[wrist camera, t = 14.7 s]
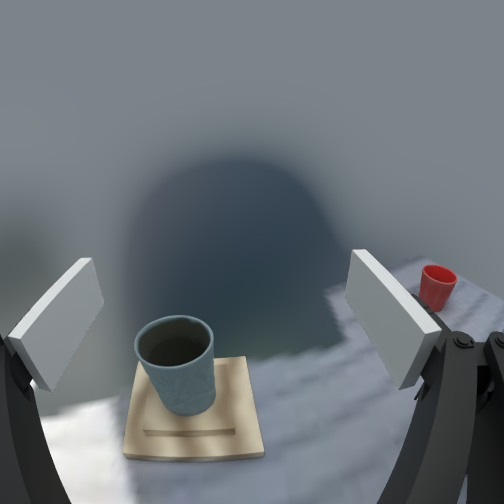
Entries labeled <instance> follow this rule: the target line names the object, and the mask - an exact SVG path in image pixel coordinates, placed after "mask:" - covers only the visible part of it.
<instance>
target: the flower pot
mask: <svg viewBox="0 0 504 504" xmlns="http://www.w3.org/2000/svg"><path fill="white" fill-rule="evenodd" d="M456 282H457V277H456V275H455V274H454V273H453V272H452V271H451V270H449V269H447V268H445V267H442V266H438V265H426V266H424V267H423V270H422V278H421V285H420V293H419V298H421V299H422V300H423V301H424V302H425V303H426V304H427V305H428V306H429V308H431V309H432V310H433V311H434V312H438V311H440V310H441V309H442V308H443V306H444V304H445V303H446V301H447V299H448V298H449V296H450V294H451V292H452V290H453V288H454V286H455V284H456Z"/></svg>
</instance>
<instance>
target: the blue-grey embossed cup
mask: <svg viewBox="0 0 504 504" xmlns="http://www.w3.org/2000/svg"><path fill="white" fill-rule="evenodd" d="M134 349H135V353H136V355H137V357H138V359H139V361H140V362H141V364H142V366H143V368H144V370H145V372H146V374H147V375H148V376H149V379H150V381H151V383H152V384H153V386H154V388H155V390H156V392H158V395H159V397H160V399H161V401H162V402H163V404H164V405H165V407H166V408H167V409H168V410H170V411H171V412H173V413H174V414H177V415H181V416H194V415H198V414H201V413H203V412H205V411H206V410H207V409H209V408H210V407H211V405H213V402H214V400H215V397H216V387H215V377H214V376H215V374H214V356H213V355H214V353H213V352H214V351H213V350H214V349H213V333H212V331H211V329H210V327H209V326H207V324H206V323H205V322H203V321H201V320H200V319H197V318H194V317H190V316H184V315H175V316H168V317H163V318H161V319H158V320H156V321H153V322H151V323H149V324H148V325H146V326H145V327H144V328H143V329H142V330H141V331H140V332H139V333H138V335H137V336H136V339H135V344H134Z"/></svg>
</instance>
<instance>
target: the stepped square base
mask: <svg viewBox="0 0 504 504" xmlns="http://www.w3.org/2000/svg"><path fill="white" fill-rule="evenodd" d="M214 374H215V376H214V377H215V387H216V397H215V400H214V402H213V405H211V407H210V408H209V409H207V410H206V411H205V412H203V413H201V414H198V415H194V416H181V415H177V414H174V413H173V412H171V411H170V410H168V409H167V408H166V407H165V405H164V404H163V402H162V401H161V399H160V397H159V395H158V392H156V390H155V388H154V386H153V384H152V383H151V381H150V379H149V376H148V375H147V374H146V372H145V370H144V368H143V366H142V364H141V362H140V361H139V362H138V367H137V371H136V376H135V381H134V386H133V390H132V396H131V401H130V406H129V412H128V417H127V423H126V430H125V436H124V443H123V450H122V453H123V454H124V456H125V457H126V458H129V459H138V460H150V461H168V462H208V461H226V460H238V459H248V458H256V457H264V448H263V443H262V439H261V434H260V429H259V424H258V419H257V415H256V410H255V405H254V400H253V395H252V390H251V385H250V379H249V374H248V369H247V364H246V358H245V356H244V357H243V356H242V357H231V358H218V359H214Z"/></svg>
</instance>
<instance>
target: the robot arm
mask: <svg viewBox="0 0 504 504" xmlns="http://www.w3.org/2000/svg"><path fill="white" fill-rule="evenodd" d="M345 299H346V301H347V302H348V304H349V305H350V307H351V309H352V310H353V312H354V314H355V315H356V317H357V319H358V320H359V322H360V323H361V325H362V327H363V329H364V330H365V332H366V334H367V335H368V337H369V339H370V340H371V342H372V344H373V346H374V347H375V349H376V351H377V352H378V354H379V356H380V358H381V360H382V361H383V363H384V365H385V367H386V368H387V370H388V372H389V374H390V376H391V377H392V379H393V381H394V383H395V385H396V387H397V389H398V390H401V389H404V388H408V387H411V386H414V385H415V383H416V382H417V380H418V378H419V376H420V375H421V376H422V378H423V379H424V383H423V385H422V386H421V388H420V390H419V391H418V393H417V395H416V396H415V398H414V400H417V398H418V401H417V404H416V408H415V411H414V415H413V418H412V421H411V424H410V427H409V430H408V433H407V436H406V439H405V441H404V444H403V447H402V449H401V452H400V454H399V457H398V459H397V462H396V464H395V467H394V469H393V471H392V473H391V476H390V478H389V480H388V482H387V484H386V486H385V488H384V490H383V492H382V494H381V496H380V498H379V500H378V502H377V504H457V501H458V498H459V495H460V491H461V488H462V484H463V480H464V477H465V474H468V485H467V501H466V504H504V329H503V331H502V332H497V331H496V332H492V333H490V335H489V337H488V339H487V341H486V342H475V341H474V340H473V338H472V337H470V336H469V335H468V334H466V333H463V332H459V331H454V332H452V331H451V330H450V329H449V328H448V327H447V326H446V325H445V323H444V322H443V321H442V320H441V319H440V318H439V317H438V316H437V315H436V314H434V311H433V310H432V309H431V308H429V306H428V305H427V304H426V303H425V302H424V301H423V300H422V299H421V298H419V297H417V296H416V295H414V294H409V293H408V292H407V291H406V290H405V289H404V287H403V286H402V285H401V284H400V283H399V282H398V281H397V280H396V279H395V278H394V277H393V276H392V275H391V274H390V273H389V272H388V271H387V270H386V269H385V268H384V267H383V266H382V265H381V264H380V263H379V262H378V261H377V260H376V259H375V258H374V257H373V256H372V255H371V254H370V253H369V252H368V251H366V250H352V255H351V262H350V269H349V274H348V280H347V286H346V292H345ZM103 305H104V300H103V297H102V293H101V290H100V286H99V283H98V279H97V275H96V271H95V267H94V263H93V259H92V258H80V259H79V260H78V261H77V262H76V263H75V264H74V265H73V266H72V267H71V268H70V269H69V270H68V271H67V272H66V273H65V274H64V275H63V276H62V277H61V278H60V279H59V280H58V281H57V282H56V283H55V284H54V285H53V286H52V287H51V288H50V289H49V290H48V291H47V292H46V293H45V294H44V295H43V296H42V297H41V299H40V300H39V301H38V302H37V303H36V304H35V305H34V306H33V307H32V308H31V309H30V310H29V311H28V312H27V313H26V314H25V315H24V317H23V318H22V319H21V320H20V321H19V323H17V324H16V326H15V327H14V328H13V329H12V330H11V332H10V333H9V334H8V335H7V336H6V338H5V339H4V340H3V339H2V337H1V335H0V504H71V502H70V500H69V498H68V496H67V494H66V491H65V489H64V487H63V485H62V482H61V480H60V478H59V475H58V473H57V470H56V468H55V465H54V463H53V460H52V457H51V454H50V451H49V448H48V445H47V442H46V439H45V436H44V432H43V429H42V425H41V422H40V418H39V414H38V410H37V405H36V401H35V396H34V391H33V388H32V386H31V385H30V382H31V380H32V379H33V380H34V381H35V383H36V384H37V386H38V387H39V389H43V390H46V391H49V392H53V390H54V388H55V386H56V384H57V382H58V380H59V378H60V377H61V375H62V373H63V371H64V369H65V367H66V365H67V364H68V362H69V360H70V358H71V357H72V355H73V353H74V352H75V350H76V348H77V346H78V345H79V343H80V341H81V340H82V338H83V336H84V335H85V333H86V332H87V330H88V328H89V327H90V325H91V323H92V322H93V320H94V318H95V317H96V315H97V314H98V312H99V311H100V309H101V308H102V306H103Z"/></svg>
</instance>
